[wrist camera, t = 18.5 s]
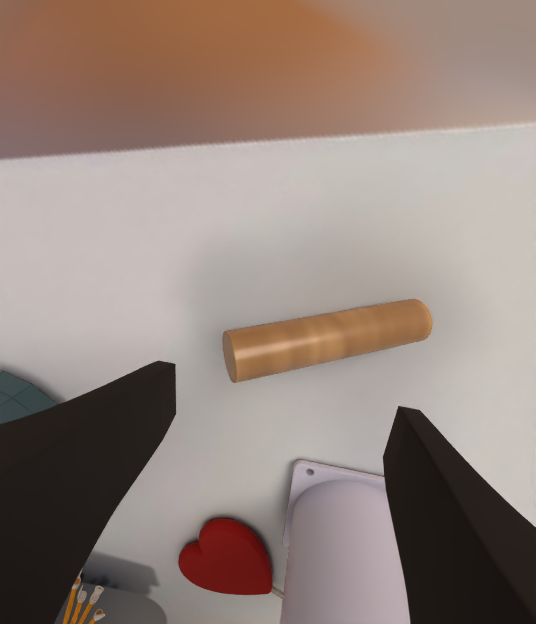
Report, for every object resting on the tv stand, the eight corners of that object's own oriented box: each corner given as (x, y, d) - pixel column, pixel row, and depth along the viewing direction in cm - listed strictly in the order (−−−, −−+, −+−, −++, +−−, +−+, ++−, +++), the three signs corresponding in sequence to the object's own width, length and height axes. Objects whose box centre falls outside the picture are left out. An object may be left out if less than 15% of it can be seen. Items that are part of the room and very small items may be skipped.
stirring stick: (437, 309, 14) (235, 348, 11) (426, 348, 15) (236, 394, 12) (404, 292, 16) (221, 321, 13) (396, 328, 17) (223, 363, 14)
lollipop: (389, 611, 24) (218, 506, 23) (391, 627, 23) (214, 518, 23) (324, 649, 27) (172, 558, 27) (324, 664, 26) (167, 570, 26)
